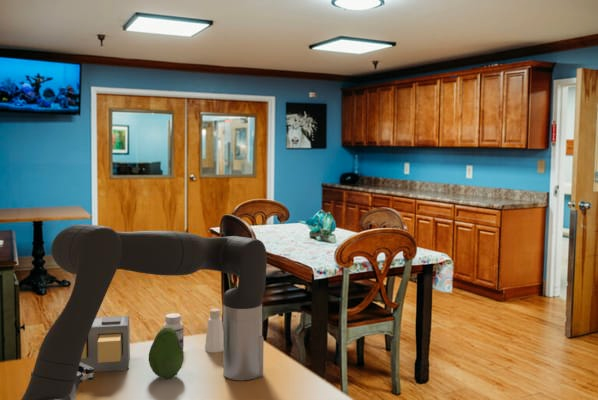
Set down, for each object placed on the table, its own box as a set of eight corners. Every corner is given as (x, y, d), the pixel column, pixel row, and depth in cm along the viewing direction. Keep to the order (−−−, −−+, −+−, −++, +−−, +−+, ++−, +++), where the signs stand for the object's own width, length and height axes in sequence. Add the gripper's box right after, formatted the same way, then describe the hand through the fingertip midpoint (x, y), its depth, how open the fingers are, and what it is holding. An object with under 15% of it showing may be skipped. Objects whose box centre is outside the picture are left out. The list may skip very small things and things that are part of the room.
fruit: (149, 385, 134) (148, 334, 133) (148, 372, 142) (147, 324, 141) (184, 382, 137) (184, 332, 135) (182, 369, 144) (182, 322, 143)
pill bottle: (160, 349, 158) (160, 313, 158) (180, 346, 161) (180, 311, 160) (165, 355, 154) (165, 319, 153) (185, 352, 156) (185, 317, 155)
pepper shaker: (203, 352, 156) (202, 312, 155) (206, 345, 162) (206, 306, 160) (223, 353, 156) (223, 312, 155) (226, 346, 161) (226, 307, 160)
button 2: (122, 349, 146) (122, 329, 146) (120, 361, 138) (119, 340, 138) (101, 350, 145) (100, 331, 145) (97, 362, 137) (97, 341, 137)
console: (129, 357, 152) (129, 313, 151) (128, 369, 144) (127, 323, 143) (63, 361, 148) (62, 316, 147) (58, 374, 140) (57, 326, 139)
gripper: (91, 371, 116) (100, 342, 132) (18, 376, 113) (37, 346, 129) (91, 408, 116) (100, 375, 133) (19, 414, 113) (37, 379, 130)
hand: (69, 360), depth 131 cm, fingers closed
